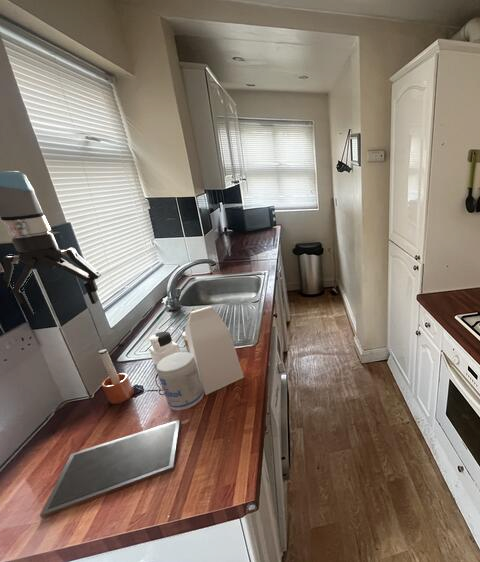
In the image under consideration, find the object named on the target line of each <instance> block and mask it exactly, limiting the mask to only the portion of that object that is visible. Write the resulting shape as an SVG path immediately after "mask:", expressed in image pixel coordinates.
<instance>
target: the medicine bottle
mask: <svg viewBox="0 0 480 562" xmlns="http://www.w3.org/2000/svg"><path fill="white" fill-rule="evenodd" d="M149 341H150V344H151V346H150V347H148V351H149V354H150V356H151V359H152V361H153V364H154V365H155V366H156V367H157V364H158V363H159V362H160V361H161V360H162V359H164V358H165V357H167V356H169V355H172V354H175V353H179V352H181V349H180V346H179V344H178V343H176V342H175V341H173V338H172V335H171V333H170V332H169V331H159V332H156V333H155V334H153V335H151V336H150V338H149Z"/></svg>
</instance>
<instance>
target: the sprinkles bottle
mask: <svg viewBox="0 0 480 562" xmlns="http://www.w3.org/2000/svg"><path fill="white" fill-rule="evenodd" d="M181 338H182V340H183V341H184V344H185V348H186V352H189V353H190V349H189V345H188V341H187V337H186V333H185V331H183V332H182V333H181Z"/></svg>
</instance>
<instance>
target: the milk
mask: <svg viewBox="0 0 480 562" xmlns="http://www.w3.org/2000/svg"><path fill="white" fill-rule="evenodd" d="M184 332H185V333H186V337H187V341H188V345H189V349H190V353H191V354H192V355H193V357H194V359H195V362H196V366H197V369H198V373H199V376H200V380H201V384H202V387H203V391H204V395H205V396H208V395H209V394H211V393H214V392H216V391H219V390H220V389H223V388H224V387H227V386H229V385H231V384H233V383H235V382H237V381H239V380H242V379H244V378H245V376H244V373H243V370H242V365H241V363H240V359H239V357H238V353H237V350H236V347H235V344H234V341H233V338H232V334H231V332H230V330H229V328H228V326H227V324H226V323H225V322H224V320H223V318H222V317H221V316H220V314H219V313H218V312H217V311H216V310H215V308H214V307H213V306H211V305H209V306H205V307H201V308H199V309H196V310H192V311H190V312H189V316H188V320H187V323H186V325H185V328H184Z"/></svg>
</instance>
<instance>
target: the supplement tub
mask: <svg viewBox="0 0 480 562" xmlns="http://www.w3.org/2000/svg"><path fill="white" fill-rule="evenodd" d="M156 372H157V377H158V379H159V382H160V385H161V388H162V390H163V394H164V396H165V399H166V402H167V405H168V407H169V408H170V409H171V410H172V411H184V410H187V409H190V408H192V407H194V406H196V405H197V404H199V403H200V402H201V401H202V400H203V398H204V395H205V392H204V391H203V387H202V384H201V380H200V376H199V373H198V369H197V366H196V362H195V359H194V357H193V355H192V354H191V353H189V352H187V351H180V352H179V353H175V354H172V355H169V356H167V357H165V358H164V359H162V360H161V361H160V362H159V363H158V364H157V366H156Z"/></svg>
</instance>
